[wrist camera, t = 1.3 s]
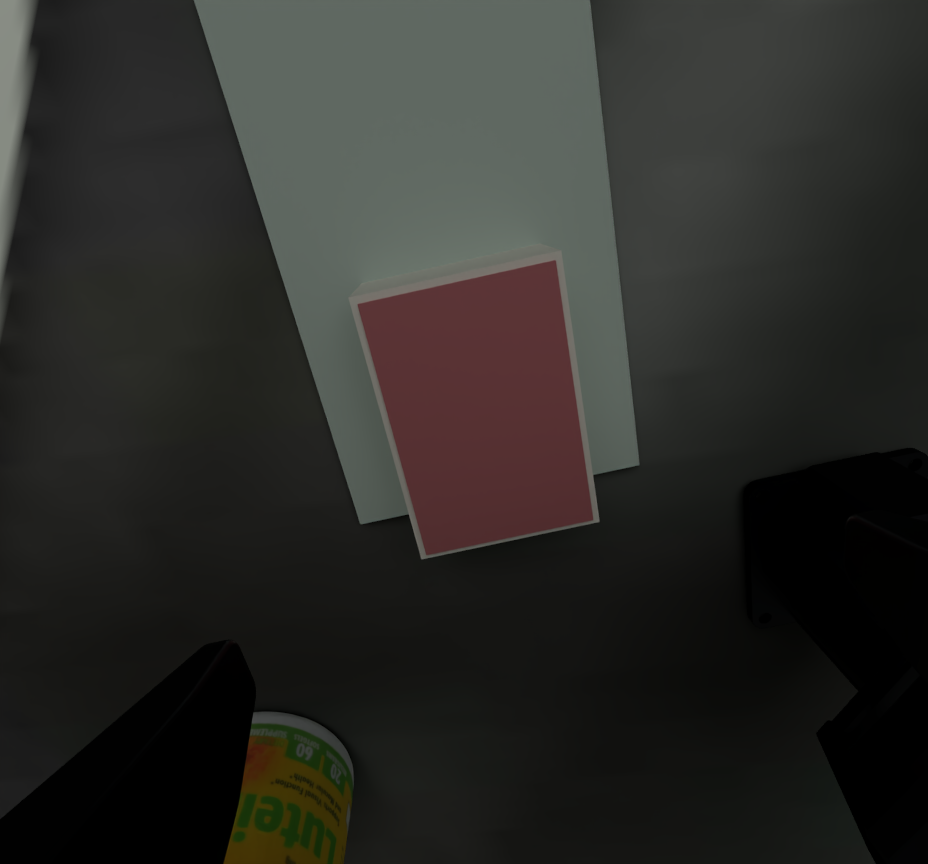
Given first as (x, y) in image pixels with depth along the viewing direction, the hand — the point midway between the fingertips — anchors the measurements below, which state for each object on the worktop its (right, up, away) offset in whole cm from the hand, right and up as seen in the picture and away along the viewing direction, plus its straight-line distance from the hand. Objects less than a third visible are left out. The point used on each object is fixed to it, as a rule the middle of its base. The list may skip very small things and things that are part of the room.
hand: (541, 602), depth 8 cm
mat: (-2, +8, +9) cm, 12 cm away
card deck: (-1, +4, +10) cm, 11 cm away
